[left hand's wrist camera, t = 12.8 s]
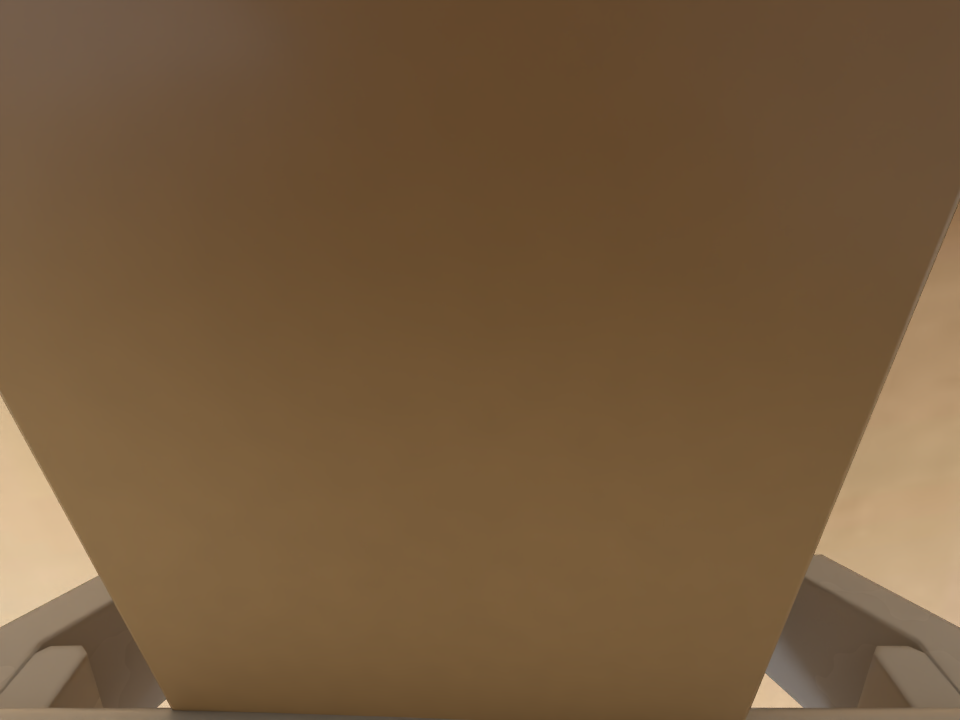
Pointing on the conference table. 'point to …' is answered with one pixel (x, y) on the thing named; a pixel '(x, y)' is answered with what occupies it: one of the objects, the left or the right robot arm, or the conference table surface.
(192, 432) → the bar
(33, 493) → the conference table surface
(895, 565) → the conference table surface
